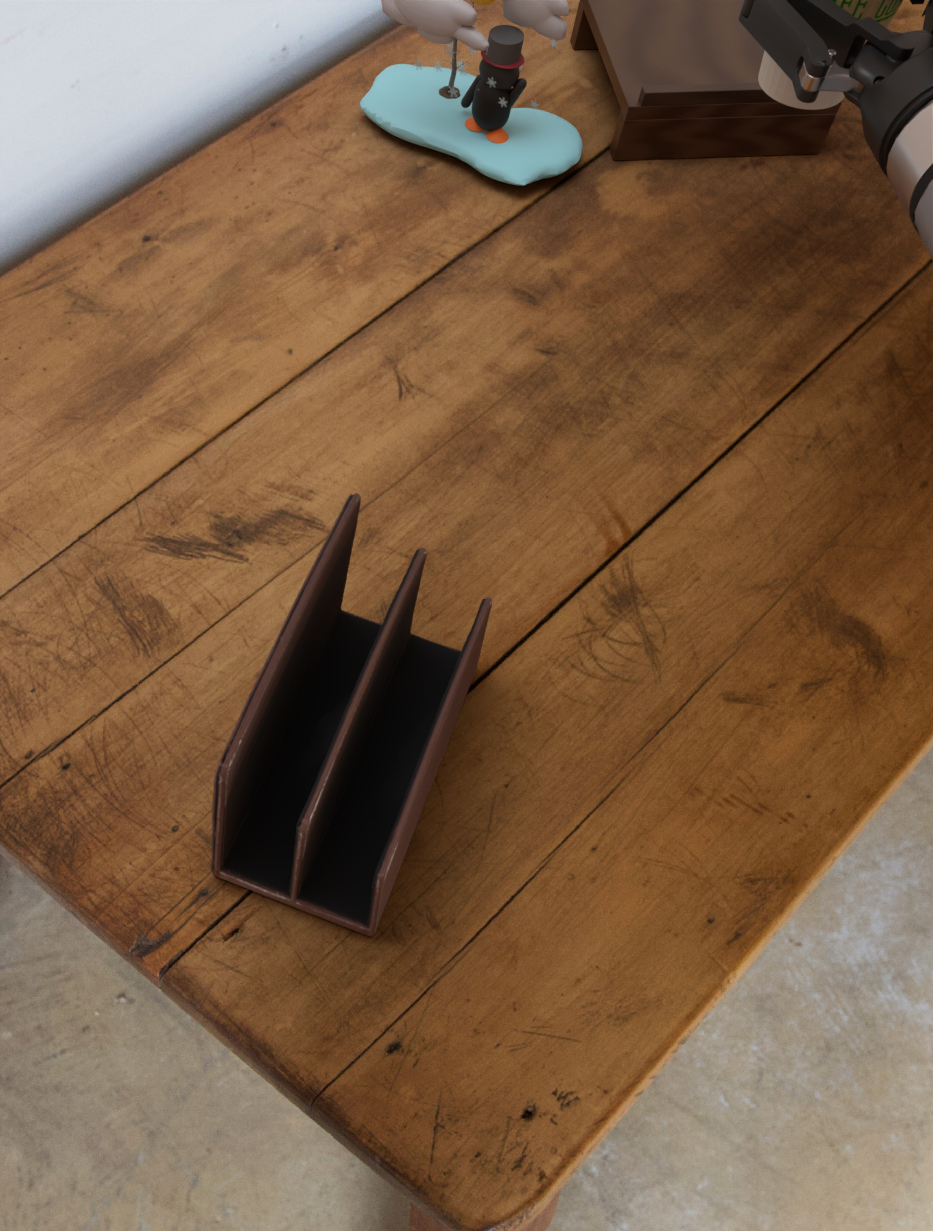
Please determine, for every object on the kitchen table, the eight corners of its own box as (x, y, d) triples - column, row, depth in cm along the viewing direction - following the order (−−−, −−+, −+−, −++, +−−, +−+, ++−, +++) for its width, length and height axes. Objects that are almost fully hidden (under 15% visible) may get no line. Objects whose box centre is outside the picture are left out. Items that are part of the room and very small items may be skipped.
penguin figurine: (598, 154, 108) (648, -25, 95) (529, 215, 104) (572, 36, 91) (409, 65, 115) (432, -114, 102) (337, 118, 110) (351, -61, 97)
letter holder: (208, 877, 72) (204, 757, 60) (331, 616, 82) (348, 468, 70) (373, 942, 70) (403, 831, 58) (478, 666, 80) (522, 523, 68)
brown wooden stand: (759, 34, 118) (784, -33, 113) (819, 154, 108) (849, 86, 103) (569, 40, 117) (585, -28, 112) (613, 160, 108) (632, 93, 102)
